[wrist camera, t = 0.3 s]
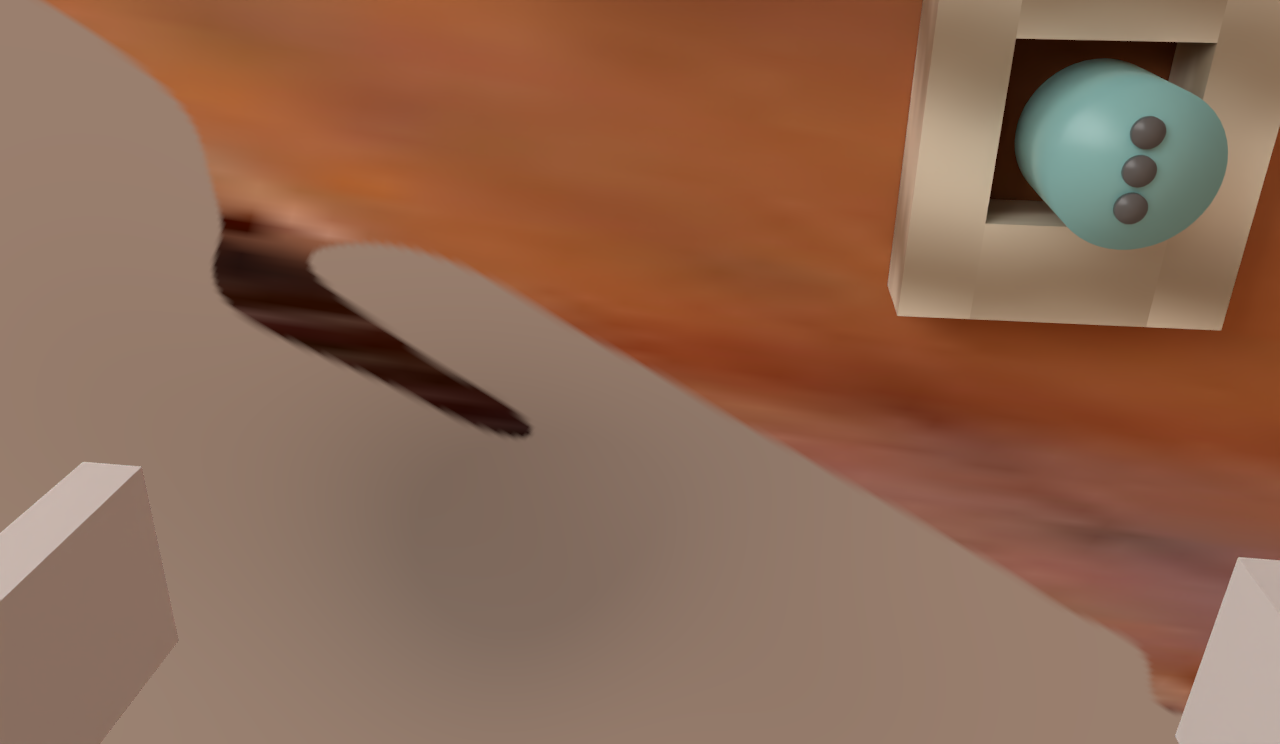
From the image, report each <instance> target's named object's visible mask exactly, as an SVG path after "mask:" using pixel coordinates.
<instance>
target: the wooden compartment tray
mask: <svg viewBox="0 0 1280 744" xmlns="http://www.w3.org/2000/svg"><path fill="white" fill-rule="evenodd" d="M1016 39H1061V40H1107V41H1152V42H1177V45H1176V49H1175V54H1174V58H1173V62H1172V67H1171V71H1170V75H1169V79H1168V81H1169V82H1171V83H1173V84H1175V85H1177V86H1179V87H1181V88H1183V89H1185V90H1187V91H1189V92H1191V93H1192V94H1194V95H1196V96H1198V97H1199V98H1201V99H1202V100H1203V101H1204V102H1206V103H1207V104H1208V105H1209V106H1210V107H1211V108H1212V109H1213V111H1214V112H1215V113H1216V115H1217V116H1218V118H1219V119H1220V121H1221V123H1222V126H1223V128H1224V130H1225V134H1226V138H1227V145H1228V162H1227V167H1226V172H1225V176H1224V179H1223V181H1222V184H1221V186H1220V188H1219V190H1218V193H1217V195H1216V196H1215V198H1214V199H1213V201H1212V202H1211V204H1210V205H1209V206H1208V208H1207V209H1206V210H1205V211H1204V213H1203V214H1202V215H1201V216H1200V217H1199V218H1198V219H1197V220H1196V221H1195V222H1194V223H1192V224H1191V225H1190V226H1189V227H1187V228H1186V229H1185V230H1183V231H1182V232H1180V233H1178V234H1177V235H1175V236H1173V237H1171V238H1169V239H1167V240H1165V241H1163V242H1161V243H1158V244H1155V245H1152V246H1148V247H1144V248H1139V249H1132V250H1116V249H1108V248H1103V247H1099V246H1096V245H1094V244H1091V243H1088V242H1087V241H1085V240H1083V239H1081V238H1080V237H1078V236H1077V235H1076V234H1074V233H1073V232H1072V231H1071V230H1070V229H1069V228H1068V227H1067V226H1066V225H1065V224H1064V223H1063V222H1062V221H1061V219H1060V218H1059V217H1058V216H1057V215H1056V214H1055V213H1054V212H1053V210H1052V209H1051V208H1050V207H1049V206H1048V205H1047V204H1046V203H1045V202H1044V201H1030V200H1002V199H990V193H991V187H992V181H993V175H994V169H995V162H996V156H997V150H998V144H999V138H1000V132H1001V126H1002V120H1003V114H1004V108H1005V102H1006V96H1007V90H1008V84H1009V78H1010V72H1011V66H1012V60H1013V53H1014V47H1015V41H1016ZM1279 127H1280V0H923V3H922V11H921V19H920V27H919V35H918V44H917V52H916V60H915V68H914V76H913V84H912V92H911V100H910V108H909V116H908V124H907V132H906V140H905V148H904V156H903V164H902V172H901V181H900V189H899V197H898V205H897V213H896V221H895V229H894V237H893V245H892V253H891V261H890V269H889V277H888V288H889V291H890V294H891V297H892V300H893V303H894V306H895V310H896V313H897V316H911V317H933V318H955V319H977V320H1000V321H1022V322H1044V323H1066V324H1088V325H1110V326H1132V327H1154V328H1177V329H1199V330H1221V329H1222V326H1223V322H1224V319H1225V315H1226V312H1227V308H1228V305H1229V301H1230V298H1231V294H1232V291H1233V287H1234V284H1235V280H1236V277H1237V273H1238V270H1239V266H1240V263H1241V259H1242V256H1243V252H1244V249H1245V245H1246V242H1247V238H1248V235H1249V231H1250V228H1251V224H1252V221H1253V217H1254V214H1255V210H1256V207H1257V203H1258V200H1259V196H1260V193H1261V189H1262V186H1263V182H1264V179H1265V175H1266V172H1267V168H1268V165H1269V161H1270V158H1271V155H1272V151H1273V148H1274V144H1275V141H1276V137H1277V134H1278V130H1279Z"/></svg>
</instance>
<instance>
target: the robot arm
mask: <svg viewBox="0 0 1280 744" xmlns="http://www.w3.org/2000/svg"><path fill="white" fill-rule="evenodd" d="M177 642H178V635H177V631H176V626H175V621H174V617H173V612H172V607H171V602H170V598H169V593H168V588H167V583H166V579H165V574H164V569H163V565H162V560H161V555H160V551H159V546H158V541H157V536H156V532H155V527H154V523H153V518H152V513H151V508H150V504H149V499H148V494H147V490H146V485H145V480H144V475H143V471H142V467H140V466H128V465H116V464H103V463H91V462H82V463H81V464H80V465H79V466H78V467H76V468H75V469H74V470H73V471H72V472H71V473H69V474H68V475H67V476H66V477H65V478H64V479H63V480H61V481H60V482H59V483H58V484H57V485H56V486H54V487H53V488H52V489H51V490H50V491H49V492H48V493H46V494H45V495H44V496H43V497H42V498H40V499H39V500H38V501H37V502H36V503H35V504H33V505H32V506H31V507H30V508H29V509H28V510H26V511H25V512H24V513H23V514H22V515H21V516H20V517H18V518H17V519H16V520H15V521H14V522H12V523H11V524H10V525H9V526H8V527H7V528H6V529H4V530H3V531H2V532H1V533H0V744H100V743H101V742H102V741H103V739H104V738H105V737H106V735H107V734H108V733H109V731H110V730H111V729H112V727H113V726H114V725H115V723H116V722H117V721H118V720H119V718H120V717H121V715H122V714H123V713H124V712H125V710H126V709H127V707H128V706H129V705H130V704H131V702H132V701H133V700H134V698H135V697H136V696H137V694H138V693H139V692H140V691H141V689H142V688H143V687H144V685H145V684H146V683H147V681H148V680H149V679H150V677H151V676H152V675H153V673H154V672H155V671H156V670H157V668H158V667H159V665H160V664H161V663H162V662H163V660H164V659H165V658H166V656H167V655H168V654H169V652H170V651H171V650H172V648H173V647H174V646H175V645H176V643H177ZM1175 737H1176V739H1177V741H1178V742H1179V744H1280V560H1268V559H1256V558H1243V557H1238V559H1237V562H1236V565H1235V568H1234V570H1233V573H1232V576H1231V579H1230V582H1229V585H1228V587H1227V590H1226V593H1225V596H1224V599H1223V602H1222V604H1221V607H1220V610H1219V613H1218V616H1217V619H1216V621H1215V624H1214V627H1213V630H1212V633H1211V636H1210V638H1209V641H1208V644H1207V647H1206V650H1205V653H1204V655H1203V658H1202V661H1201V664H1200V667H1199V669H1198V672H1197V675H1196V678H1195V681H1194V684H1193V686H1192V689H1191V692H1190V695H1189V698H1188V701H1187V703H1186V706H1185V709H1184V712H1183V715H1182V718H1181V720H1180V723H1179V726H1178V729H1177V732H1176V735H1175Z"/></svg>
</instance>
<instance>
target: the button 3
mask: <svg viewBox="0 0 1280 744" xmlns="http://www.w3.org/2000/svg"><path fill="white" fill-rule="evenodd" d="M1014 142H1015V155H1016V160H1017V163H1018V166H1019V169H1020V171H1021V173H1022V175H1023V177H1024V178H1025V179H1026V181H1027V182H1028V184H1029V185H1030V186H1031V187H1032V188H1033V189H1034V190H1035V191H1036V193H1037V194H1038V195H1039V196H1040V197H1041V198H1042V199H1043V200H1044V202H1045V203H1046V204H1047V205H1048V206H1049V207H1050V208H1051V209H1052V210H1053V212H1054V213H1055V214H1056V215H1057V216H1058V217H1059V218H1060V219H1061V221H1062V222H1063V223H1064V224H1065V225H1066V226H1067V227H1068V228H1069V229H1070V230H1071V231H1072V232H1073V233H1074V234H1076V235H1077V236H1078V237H1080V238H1081V239H1083V240H1085V241H1087V242H1088V243H1091V244H1094V245H1096V246H1099V247H1103V248H1108V249H1116V250H1132V249H1139V248H1144V247H1148V246H1152V245H1155V244H1158V243H1161V242H1163V241H1165V240H1167V239H1169V238H1171V237H1173V236H1175V235H1177V234H1178V233H1180V232H1182V231H1183V230H1185V229H1186V228H1187V227H1189V226H1190V225H1191V224H1192V223H1194V222H1195V221H1196V220H1197V219H1198V218H1199V217H1200V216H1201V215H1202V214H1203V213H1204V211H1205V210H1206V209H1207V208H1208V206H1209V205H1210V204H1211V202H1212V201H1213V199H1214V198H1215V196H1216V195H1217V193H1218V190H1219V188H1220V186H1221V184H1222V181H1223V179H1224V176H1225V172H1226V167H1227V162H1228V145H1227V138H1226V134H1225V130H1224V128H1223V126H1222V123H1221V121H1220V119H1219V118H1218V116H1217V115H1216V113H1215V112H1214V111H1213V109H1212V108H1211V107H1210V106H1209V105H1208V104H1207V103H1206V102H1204V101H1203V100H1202V99H1201V98H1199V97H1198V96H1196V95H1194V94H1192V93H1191V92H1189V91H1187V90H1185V89H1183V88H1181V87H1179V86H1177V85H1175V84H1173V83H1171V82H1169V81H1167V80H1165V79H1163V78H1161V77H1159V76H1157V75H1155V74H1153V73H1151V72H1149V71H1147V70H1145V69H1143V68H1141V67H1139V66H1137V65H1135V64H1132V63H1129V62H1127V61H1123V60H1119V59H1110V58H1098V59H1091V60H1085V61H1082V62H1078V63H1075V64H1073V65H1070V66H1068V67H1066V68H1064V69H1062V70H1060V71H1059V72H1057V73H1055V74H1054V75H1053V76H1051V77H1050V78H1049V79H1047V80H1046V81H1045V82H1044V83H1043V84H1042V85H1041V86H1040V87H1039V88H1038V89H1037V90H1036V91H1035V92H1034V93H1033V95H1032V96H1031V97H1030V99H1029V100H1028V102H1027V103H1026V105H1025V107H1024V109H1023V111H1022V113H1021V115H1020V118H1019V120H1018V123H1017V128H1016V132H1015V141H1014Z"/></svg>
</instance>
